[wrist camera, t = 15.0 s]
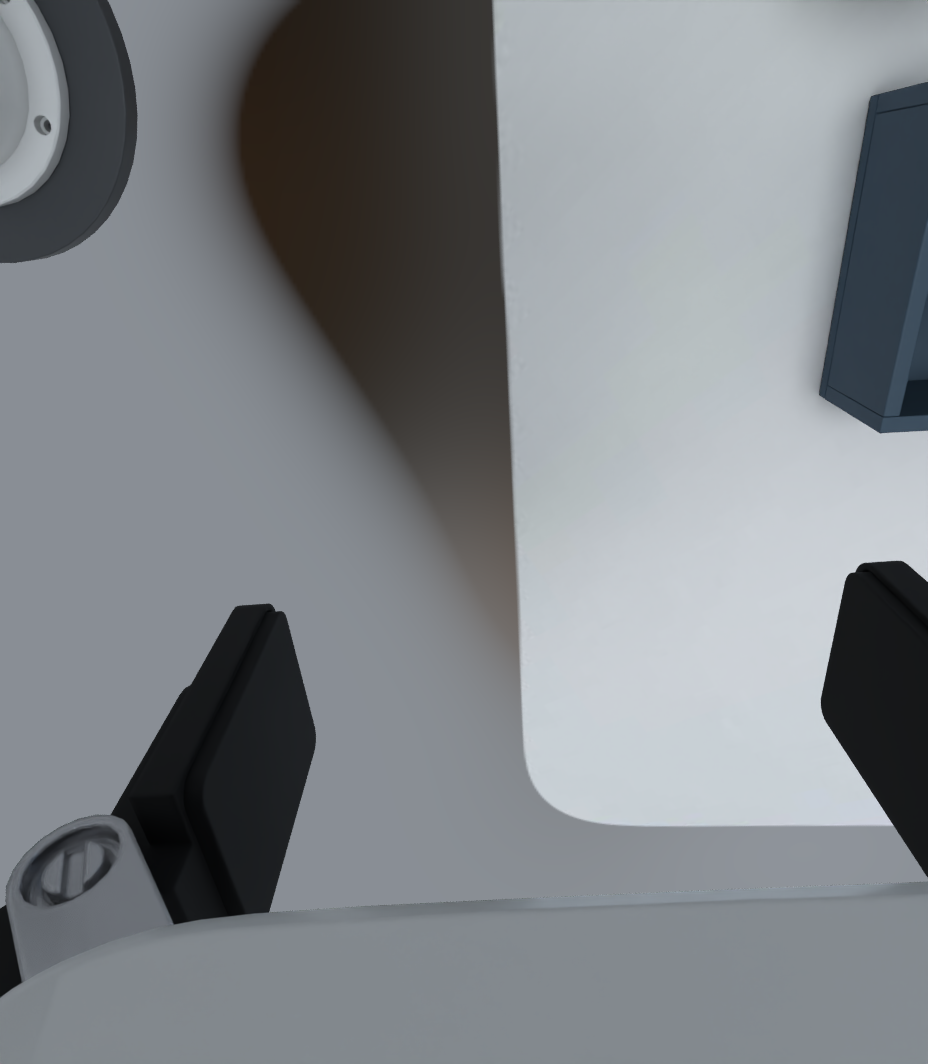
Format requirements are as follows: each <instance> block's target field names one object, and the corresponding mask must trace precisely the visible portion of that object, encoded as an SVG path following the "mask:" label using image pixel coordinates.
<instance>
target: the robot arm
mask: <svg viewBox="0 0 928 1064" xmlns="http://www.w3.org/2000/svg"><path fill="white" fill-rule="evenodd" d="M69 117H70V114H69V94H68V86H67V81H66V76H65V71H64V66H63V62H62V59H61V56H60V53H59V51H58V48H57V45H56V42H55V40H54V37H53V34H52V32H51V30H50V28H49V26H48V24H47V23H46V21H45V19H44V17H43V15H42V13H41V11H40V9H39V7H38V5H37V4H36V3H35V1H34V0H0V207H1V206H5V205H9V204H12V203H16V202H19V201H21V200H22V199H24V198H26V197H28V196H29V195H31V194H33V193H35V192H36V191H37V190H38V189H39V188H40V187H41V186H42V185H43V184H44V183H45V182H46V181H47V180H48V179H49V177H50V176H51V174H52V173H53V171H54V169H55V168H56V166H57V164H58V163H59V161H60V158H61V155H62V152H63V149H64V146H65V143H66V140H67V132H68V124H69ZM49 122H50V124H51V130H50V129H49ZM821 709H822V713H823V716H824V719H825V721H826V723H827V724H828V726H829V727H830V729H831V730H832V732H833V733H834V735H835V736H836V738H837V740H838V741H839V743H840V744H841V746H842V747H843V749H844V750H845V752H846V753H847V755H848V756H849V758H850V759H851V761H852V762H853V764H854V766H855V767H856V769H857V770H858V772H859V773H860V775H861V776H862V778H863V779H864V781H865V782H866V784H867V785H868V787H869V788H870V790H871V792H872V793H873V795H874V796H875V798H876V799H877V801H878V802H879V804H880V805H881V807H882V808H883V810H884V811H885V813H886V814H887V816H888V818H889V819H890V821H891V822H892V824H893V825H894V827H895V828H896V830H897V831H898V833H899V834H900V836H901V837H902V839H903V840H904V842H905V844H906V845H907V847H908V848H909V850H910V851H911V853H912V854H913V856H914V857H915V859H916V860H917V862H918V863H919V865H920V866H921V868H922V870H923V871H924V873H925V874H926V876H927V877H928V582H927V581H926V580H925V579H924V578H922V577H921V576H920V575H919V574H918V573H917V572H916V571H914V570H913V569H912V568H911V567H910V566H909V565H908V564H906V563H904V562H903V561H887V562H872V563H863V564H861V565H859V567H858V568H857V570H856V572H855V573H850V574H849V575H848V576H847V578H846V581H845V585H844V590H843V595H842V599H841V604H840V609H839V614H838V619H837V624H836V628H835V633H834V638H833V643H832V648H831V653H830V657H829V662H828V667H827V672H826V677H825V682H824V686H823V691H822V696H821ZM315 743H316V732H315V726H314V723H313V719H312V715H311V711H310V707H309V703H308V699H307V695H306V691H305V687H304V684H303V680H302V676H301V672H300V668H299V664H298V660H297V656H296V653H295V649H294V645H293V641H292V637H291V633H290V629H289V625H288V621H287V618H286V615H285V614H284V612H282V611H278V612H276V611H275V609H274V607H273V606H272V605H271V604H257V605H242V606H237V607H235V609H234V610H233V611H232V613H231V615H230V617H229V619H228V620H227V622H226V624H225V625H224V627H223V629H222V631H221V633H220V634H219V636H218V638H217V640H216V641H215V643H214V645H213V647H212V649H211V650H210V652H209V654H208V656H207V657H206V659H205V661H204V663H203V664H202V666H201V668H200V670H199V672H198V673H197V675H196V677H195V679H194V681H193V682H192V684H191V685H190V686H188V687H186V688H185V689H184V690H183V691H182V693H181V694H180V695H179V697H178V699H177V700H176V702H175V704H174V706H173V707H172V709H171V711H170V713H169V715H168V716H167V718H166V720H165V721H164V723H163V725H162V726H161V729H160V730H159V732H158V733H157V735H156V737H155V739H154V740H153V742H152V744H151V746H150V748H149V749H148V751H147V753H146V754H145V756H144V758H143V760H142V761H141V763H140V765H139V767H138V768H137V770H136V772H135V774H134V775H133V777H132V779H131V780H130V782H129V784H128V786H127V787H126V789H125V791H124V793H123V794H122V796H121V798H120V799H119V801H118V803H117V805H116V806H115V808H114V810H113V812H112V814H111V815H93V816H88V817H84V818H80V819H77V820H74V821H72V822H70V823H68V824H65V825H63V826H61V827H59V828H57V829H56V830H54V831H53V832H51V833H50V834H48V835H47V836H45V837H43V838H42V839H41V840H40V841H38V842H37V843H36V844H35V845H34V846H33V847H32V848H31V849H30V850H29V851H28V852H26V854H25V855H24V856H23V857H22V859H21V860H20V861H19V863H18V864H17V865H16V867H15V868H14V869H13V871H12V874H11V876H10V878H9V881H8V883H7V885H6V905H5V906H4V907H2V908H0V1064H928V882H909V883H883V884H857V885H830V886H803V887H778V888H750V889H727V890H703V891H680V892H656V893H635V894H610V895H589V896H565V897H543V898H522V899H502V900H483V901H482V900H481V901H463V902H462V901H461V902H443V903H442V902H441V903H420V904H399V905H380V906H361V907H345V908H330V909H315V910H300V911H286V912H270V913H269V911H270V907H271V903H272V900H273V896H274V893H275V889H276V886H277V882H278V878H279V875H280V871H281V868H282V864H283V861H284V857H285V854H286V850H287V847H288V843H289V839H290V836H291V832H292V829H293V825H294V822H295V818H296V814H297V811H298V807H299V804H300V800H301V797H302V793H303V790H304V786H305V783H306V779H307V775H308V772H309V768H310V765H311V761H312V758H313V754H314V750H315Z"/></svg>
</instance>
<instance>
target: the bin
mask: <svg viewBox="0 0 928 1064" xmlns="http://www.w3.org/2000/svg"><path fill="white" fill-rule="evenodd" d="M819 395H820V396H822V397H823V398H825V399H826V400H827V401H829V402H831V403H832V404H834V405H835V406H837V407H839V408H840V409H842V410H843V411H845V412H847V413H848V414H850V415H852V416H853V417H855V418H856V419H858V420H860V421H861V422H863V423H864V424H866V425H868V426H869V427H871V428H872V429H874V430H876V431H877V432H879V433H890V432H909V431H927V430H928V82H925V83H921V84H917V85H913V86H909V87H905V88H901V89H897V90H893V91H889V92H885V93H881V94H878V95H874V96H872V97H871V100H870V105H869V111H868V117H867V123H866V128H865V134H864V140H863V146H862V151H861V157H860V163H859V169H858V174H857V180H856V186H855V192H854V197H853V203H852V209H851V215H850V220H849V226H848V232H847V238H846V243H845V249H844V255H843V261H842V266H841V272H840V278H839V284H838V289H837V295H836V301H835V307H834V312H833V318H832V324H831V330H830V335H829V341H828V347H827V353H826V358H825V364H824V370H823V376H822V381H821V387H820V393H819Z"/></svg>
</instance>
